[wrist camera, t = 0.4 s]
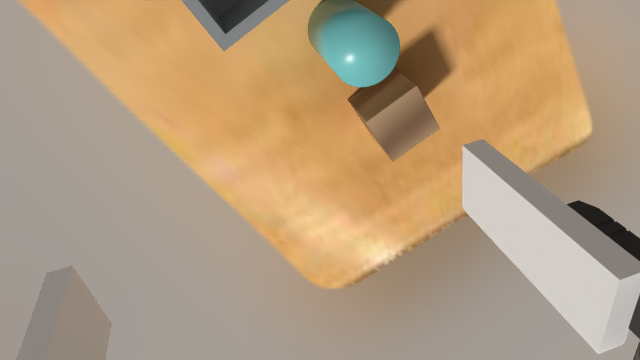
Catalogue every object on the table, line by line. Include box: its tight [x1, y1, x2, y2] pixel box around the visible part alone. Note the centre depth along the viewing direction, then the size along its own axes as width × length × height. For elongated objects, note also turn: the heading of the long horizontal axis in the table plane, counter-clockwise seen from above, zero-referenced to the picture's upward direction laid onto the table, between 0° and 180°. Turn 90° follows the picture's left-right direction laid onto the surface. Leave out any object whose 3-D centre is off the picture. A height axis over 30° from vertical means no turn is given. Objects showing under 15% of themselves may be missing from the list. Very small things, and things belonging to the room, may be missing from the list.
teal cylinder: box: [308, 0, 400, 87], centre depth 34 cm, size 5×5×7 cm
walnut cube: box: [348, 67, 440, 161], centre depth 40 cm, size 5×5×5 cm
